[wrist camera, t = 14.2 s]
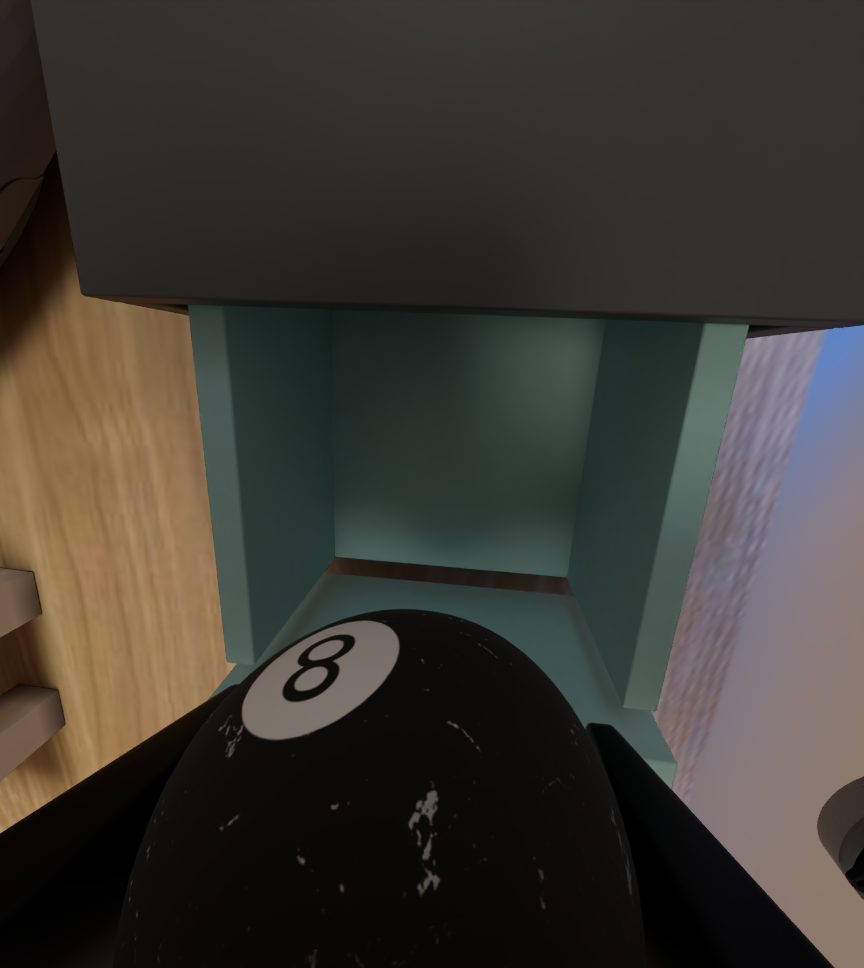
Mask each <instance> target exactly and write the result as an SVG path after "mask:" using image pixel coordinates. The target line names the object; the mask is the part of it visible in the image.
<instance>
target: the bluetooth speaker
mask: <svg viewBox="0 0 864 968" xmlns="http://www.w3.org/2000/svg"><path fill="white" fill-rule="evenodd" d="M55 151H56V145H55V139H54V133H53V127H52V121H51V116H50V110H49V104H48V98H47V93H46V87H45V81H44V75H43V69H42V64H41V58H40V52H39V46H38V41H37V35H36V29H35V23H34V17H33V12H32V6H31V0H0V267H1V266H2V264H3V262H4V261H5V259H6V258H7V256H8V255H9V253H10V252H11V250H12V249H13V247H14V245H15V244H16V242H17V241H18V239H19V238H20V236H21V234H22V232H23V230H24V228H25V226H26V224H27V222H28V220H29V218H30V216H31V214H32V212H33V209H34V207H35V205H36V203H37V200H38V197H39V193H40V190H41V186H42V183H43V179H44V174H45V172H46V170H47V168H46V167H47V165H48V164H49V162H50V160H51V158H52V156H53V154H54V152H55Z"/></svg>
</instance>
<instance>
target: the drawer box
mask: <svg viewBox="0 0 864 968" xmlns="http://www.w3.org/2000/svg"><path fill="white" fill-rule="evenodd" d="M31 6H32V12H33V17H34V23H35V29H36V35H37V41H38V46H39V52H40V58H41V64H42V69H43V75H44V81H45V87H46V93H47V98H48V104H49V110H50V116H51V121H52V127H53V133H54V139H55V145H56V150H57V156H58V162H59V168H60V173H61V179H62V185H63V191H64V196H65V202H66V208H67V214H68V220H69V225H70V231H71V237H72V243H73V248H74V254H75V260H76V266H77V272H78V277H79V283H80V289H81V293H82V295H84V296H87V297H93V298H98V299H103V300H109V301H114V302H123V303H126V304H131V305H137V306H142V307H147V308H153V309H158V310H163V311H169V312H174V313H179V314H184V315H189V310H188V305H214V306H242V307H270V308H298V309H326V310H354V311H382V312H409V313H437V314H465V315H493V316H521V317H549V318H577V319H605V320H633V321H661V322H688V323H716V324H744V325H749V328H748V332H747V337H746V338H755V337H764V336H772V335H781V334H790V333H799V332H807V331H816V330H825V329H833V328H843V327H852V326H860V325H864V0H31Z"/></svg>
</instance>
